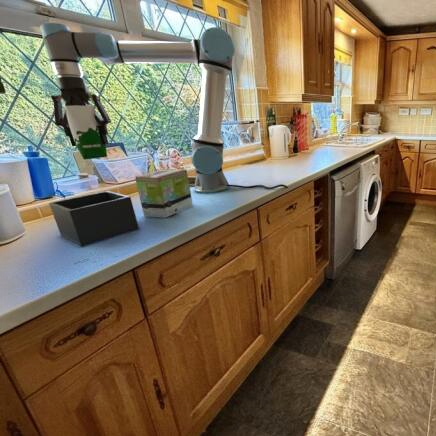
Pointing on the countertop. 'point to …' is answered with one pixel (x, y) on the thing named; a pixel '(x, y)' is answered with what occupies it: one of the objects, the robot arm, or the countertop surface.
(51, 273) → the countertop surface
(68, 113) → the soya milk
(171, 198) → the tea box
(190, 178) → the toy sandwich meal
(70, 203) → the waste bin
